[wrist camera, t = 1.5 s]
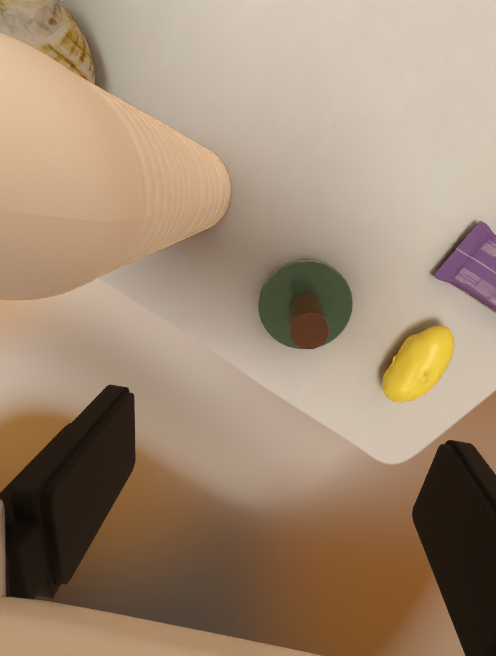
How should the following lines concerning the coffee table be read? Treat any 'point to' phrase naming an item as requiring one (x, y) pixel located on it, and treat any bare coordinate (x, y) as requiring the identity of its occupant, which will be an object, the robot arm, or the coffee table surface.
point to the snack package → (474, 265)
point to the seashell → (48, 33)
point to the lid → (305, 304)
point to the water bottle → (89, 179)
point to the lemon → (418, 364)
